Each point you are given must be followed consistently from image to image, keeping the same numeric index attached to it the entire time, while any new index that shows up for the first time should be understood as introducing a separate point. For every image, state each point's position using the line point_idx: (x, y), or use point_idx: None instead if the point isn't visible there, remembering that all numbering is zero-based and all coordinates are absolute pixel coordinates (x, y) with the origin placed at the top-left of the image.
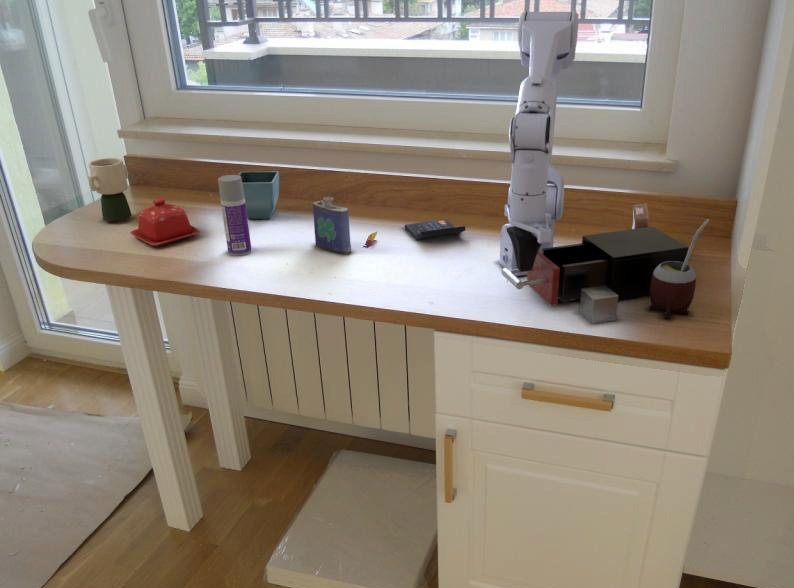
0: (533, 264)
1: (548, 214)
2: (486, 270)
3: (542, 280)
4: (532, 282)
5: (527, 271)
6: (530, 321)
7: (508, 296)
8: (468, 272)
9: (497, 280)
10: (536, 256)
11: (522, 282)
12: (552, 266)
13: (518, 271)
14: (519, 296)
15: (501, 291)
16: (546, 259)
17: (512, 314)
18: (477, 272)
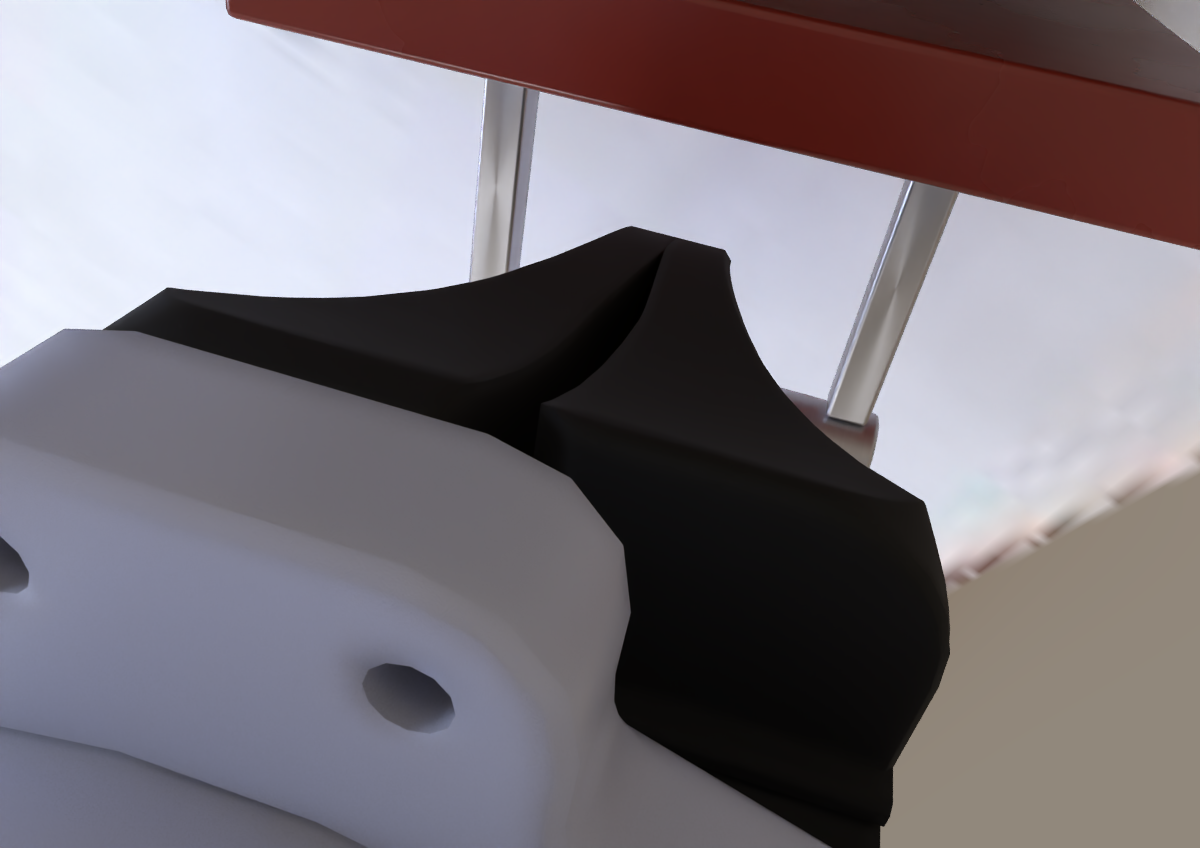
0: (727, 269)
1: (211, 599)
2: (12, 39)
3: (952, 197)
4: (902, 324)
5: (536, 107)
6: (1119, 382)
7: (577, 217)
8: (36, 197)
9: (235, 88)
10: (536, 87)
11: (870, 454)
12: (1118, 192)
13: (516, 228)
14: (624, 133)
15: (459, 203)
16: (783, 69)
17: (898, 408)
18: (45, 135)
